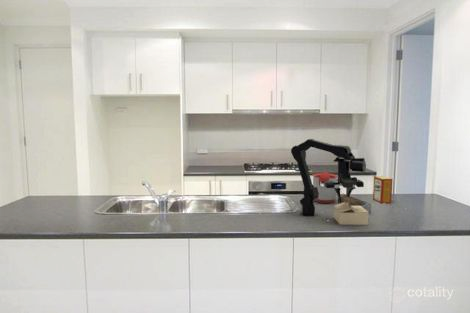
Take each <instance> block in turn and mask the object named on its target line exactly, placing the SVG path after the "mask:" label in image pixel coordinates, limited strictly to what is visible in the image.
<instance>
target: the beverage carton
mask: <svg viewBox="0 0 470 313" xmlns="http://www.w3.org/2000/svg"><path fill="white" fill-rule="evenodd" d="M349 198H350V200H349V202H350V205H351V206H361V207H363V208H364V209H365V210H367V211H368V212H369V214H368V215H370V214H371V213H372V203H369V202H366V201H364V200H361V199H358V198H355V197H352V196H351V195H350V196H349ZM346 202H347V200H346ZM341 203H344V199H343V197H342V196H341V200H339V198H338V197H337V205H338V204H341ZM347 203H348V202H347Z"/></svg>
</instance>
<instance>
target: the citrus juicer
mask: <svg viewBox="0 0 470 313" xmlns="http://www.w3.org/2000/svg"><path fill="white" fill-rule="evenodd" d="M337 179H338V174H333V173H329V172H327V171H326V170H324V171H323V172H322V173H313V174H312V184H313V186H314V187H317V188H318V192H319V194H318V195H319V197H318V199H317V200H315V202H317V203H321V204H322V203H323V204H332V203H334V202H335V200H336V197H337V193H336V191H335V189H333V188H326V187H325V186H324V182H325V181H333V182H338V181H337Z"/></svg>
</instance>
